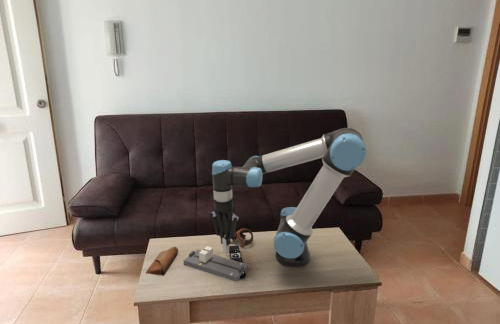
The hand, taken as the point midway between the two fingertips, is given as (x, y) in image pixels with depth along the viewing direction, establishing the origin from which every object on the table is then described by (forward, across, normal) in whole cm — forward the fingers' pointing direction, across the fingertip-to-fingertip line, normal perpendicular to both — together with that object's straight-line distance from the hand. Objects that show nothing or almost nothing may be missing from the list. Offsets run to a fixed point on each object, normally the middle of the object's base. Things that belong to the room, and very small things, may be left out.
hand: (226, 251), depth 154 cm
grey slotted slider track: (+7, +4, +2) cm, 8 cm away
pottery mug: (+8, +4, -20) cm, 22 cm away
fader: (+4, +9, +2) cm, 10 cm away
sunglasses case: (+7, +26, +10) cm, 29 cm away
